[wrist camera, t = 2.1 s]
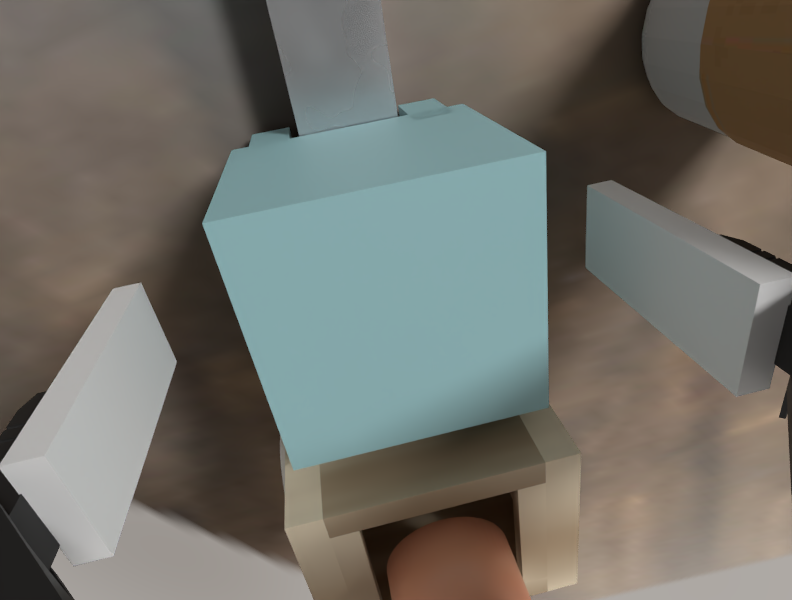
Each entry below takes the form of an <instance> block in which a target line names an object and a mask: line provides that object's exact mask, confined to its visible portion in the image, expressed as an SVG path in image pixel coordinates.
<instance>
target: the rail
mask: <svg viewBox="0 0 792 600" xmlns="http://www.w3.org/2000/svg"><path fill="white" fill-rule="evenodd" d="M266 3H267V7H268V11H269V15H270V19H271V23H272V27H273V31H274V35H275V39H276V43H277V47H278V52H279V56H280V60H281V64H282V68H283V72H284V76H285V80H286V84H287V88H288V92H289V96H290V100H291V104H292V108H293V112H294V116H295V121H296V125H297V129H298V133H299V137H300V136H305V135H310V134H315V133H320V132H325V131H330V130H335V129H340V128H345V127H350V126H355V125H360V124H365V123H370V122H375V121H380V120H385V119H390V118H395V117H398V114H397V107H396V101H395V94H394V87H393V81H392V74H391V67H390V60H389V54H388V47H387V40H386V34H385V27H384V20H383V14H382V7H381V0H266Z"/></svg>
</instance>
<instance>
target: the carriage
mask: <svg viewBox="0 0 792 600" xmlns="http://www.w3.org/2000/svg"><path fill="white" fill-rule="evenodd" d="M398 108H399V115H400V117H395V118H390V119H385V120H380V121H375V122H370V123H365V124H360V125H355V126H350V127H345V128H340V129H335V130H330V131H325V132H320V133H315V134H310V135H305V136H300V137H295V138H292V136H291V132H290V128H289V127H288V128H283V129H278V130H273V131H268V132H263V133H258V134H253V135H252V137H251V141H250V144H249V147H245V148H240V149H235V150H232V151H231V153H230V156H229V158H228V161H227V163H226V166H225V168H224V171H223V173H222V176H221V178H220V181H219V183H218V186H217V188H216V191H215V193H214V196H213V198H212V200H211V203H210V205H209V208H208V210H207V213H206V215H205V218H204V220H203V223H202V224H203V227H204V230H205V232H206V235H207V238H208V241H209V243H210V246H211V249H212V251H213V254H214V257H215V259H216V262H217V265H218V268H219V270H220V273H221V276H222V278H223V281H224V284H225V286H226V289H227V292H228V295H229V297H230V300H231V303H232V305H233V308H234V311H235V314H236V316H237V319H238V322H239V324H240V327H241V330H242V332H243V335H244V338H245V341H246V343H247V346H248V349H249V351H250V354H251V357H252V359H253V362H254V365H255V368H256V370H257V373H258V376H259V378H260V381H261V384H262V387H263V389H264V392H265V395H266V397H267V400H268V403H269V405H270V408H271V411H272V414H273V416H274V419H275V422H276V424H277V427H278V430H279V432H280V435H281V438H282V441H283V443H284V446H285V449H286V451H287V454H288V457H289V460H290V462H291V465H292V468H293V470H298V469H302V468H306V467H311V466H315V465H319V464H323V463H327V462H331V461H335V460H339V459H343V458H347V457H351V456H355V455H359V454H363V453H367V452H371V451H375V450H379V449H383V448H387V447H392V446H396V445H400V444H404V443H408V442H412V441H416V440H420V439H424V438H428V437H432V436H436V435H440V434H444V433H448V432H452V431H456V430H460V429H464V428H468V427H473V426H477V425H481V424H485V423H489V422H493V421H497V420H501V419H505V418H509V417H513V416H517V415H521V414H525V413H529V412H533V411H537V410H541V409H545V408H549V378H548V287H547V195H546V151H545V150H543V149H541V148H539V147H538V146H536V145H534V144H532V143H531V142H529V141H527V140H525V139H524V138H522V137H520V136H518V135H517V134H515V133H513V132H511V131H510V130H508V129H506V128H504V127H503V126H501V125H499V124H497V123H496V122H494V121H492V120H490V119H489V118H487V117H485V116H483V115H482V114H480V113H478V112H476V111H475V110H473V109H471V108H469V107H468V106H466V105H464V104H459V105H454V106H449V107H446V106H445V105H443V104H442V103H440V102H438V101H437V100H435V99H434V98H433V99H428V100H423V101H418V102H413V103H408V104H403V105H398Z"/></svg>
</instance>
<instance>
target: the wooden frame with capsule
mask: <svg viewBox="0 0 792 600" xmlns="http://www.w3.org/2000/svg"><path fill="white" fill-rule="evenodd" d="M280 461H281V472H282V480H283V487H284V493H285V521H284V529H285V532H286V534H287V536H288V539H289V541H290V544H291V546H292V548H293V551H294V553H295V556H296V558H297V560H298V563H299V565H300V568H301V570H302V572H303V575H304V577H305V580H306V582H307V584H308V587H309V589H310V592H311V594H312V596H313V599H314V600H392V599H391V593H390V587H389V581H388V576H387V563H388V559H389V557H390V555H391V553H392V551H393V550H394V548H395V547H396V546H397V545H398V544H399V543H400V542H401V541H402V540H403V539H404V538H405V537H406V536H408V535H409V534H410V533H412V532H414V531H415V530H417V529H419V528H421V527H423V526H425V525H427V524H430V523H432V522H435V521H439V520H442V519H447V518H453V517H475V518H481V519H484V520H487V521H490V522H492V523H494V524H495V525H497V526H498V527H499V528H500V529H501V530H502V531H503V532H504V534H505V536H506V538H507V541H508V543H509V546H510V548H511V551H512V553H513V556H514V558H515V561H516V563H517V566H518V568H519V571H520V573H521V575H522V578H523V580H524V583H525V585H526V588H527V590H528V593H529V595H530V596H532V595H536V594H540V593H543V592H547V591H551V590H554V589H558V588H562V587H565V586H569V585H573V584H576V583H577V568H578V537H579V507H580V476H581V452H580V451H579V449H578V448H577V446H576V445H575V443H574V441H573V440H572V438H571V437H570V435H569V434H568V432H567V431H566V429H565V428H564V426H563V425H562V423H561V421H560V420H559V418H558V417H557V415H556V414H555V412H554V411H553V409H552V408H551V406H550V404H549V408H545V409H541V410H537V411H533V412H529V413H525V414H521V415H517V416H513V417H509V418H505V419H501V420H497V421H493V422H489V423H485V424H481V425H477V426H473V427H468V428H464V429H460V430H456V431H452V432H448V433H444V434H440V435H436V436H432V437H428V438H424V439H420V440H416V441H412V442H408V443H404V444H400V445H396V446H392V447H387V448H383V449H379V450H375V451H371V452H367V453H363V454H359V455H355V456H351V457H347V458H343V459H339V460H335V461H331V462H327V463H323V464H319V465H315V466H311V467H306V468H302V469H298V470H293V468H292V465H291V462H290V460H289V457H288V454H287V451H286V449H285V446H284V443H283V441H282V438H281V435H280Z"/></svg>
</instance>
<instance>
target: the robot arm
mask: <svg viewBox="0 0 792 600" xmlns="http://www.w3.org/2000/svg"><path fill="white" fill-rule="evenodd" d="M585 268H586V269H588V270H589V271H590V272H591V273H592V274H593V275H595V276H596V277H597V278H598V279H599V280H600V281H602V282H603V283H604V284H605V285H606V286H607V287H609V288H610V289H611V290H612V291H613V292H614V293H616V294H617V295H618V296H619V297H620V298H622V299H623V300H624V301H625V302H626V303H627V304H629V305H630V306H631V307H632V308H633V309H634V310H636V311H637V312H638V313H639V314H640V315H641V316H643V317H644V318H645V319H646V320H647V321H648V322H650V323H651V324H652V325H653V326H654V327H655V328H657V329H658V330H659V331H660V332H661V333H662V334H664V335H665V336H666V337H667V338H668V339H669V340H671V341H672V342H673V343H674V344H675V345H676V346H678V347H679V348H680V349H681V350H682V351H683V352H685V353H686V354H687V355H688V356H689V357H691V358H692V359H693V360H694V361H695V362H696V363H698V364H699V365H700V366H701V367H702V368H703V369H705V370H706V371H707V372H708V373H709V374H710V375H712V376H713V377H714V378H715V379H716V380H717V381H719V382H720V383H721V384H722V385H723V386H724V387H726V388H727V389H728V390H729V391H730V392H731V393H733V394H734V395H735V396H736V397H738V396H742V395H745V394H749V393H753V392H757V391H761V390H765V389H769V388H770V384H771V380H772V376H773V372H774V368H775V365H777V366H778V367H779V368H781V369H782V370H784V371H785V372H786V373H788V374H789V375H790V379H789V382H788V386H787V390H786V393H785V397H784V401H783V404H782V408H781V412H780V415H779V417H780V418H786V416H787V414H788V432H789V453H790V473H791V493H792V264H790V263H788V262H786V261H784V260H782V259H780V258H777V259H776V258H775V256H774V255H772V254H770V253H768V252H766V251H761V249H760V248H758V247H756V246H754V245H752V244H750V243H748V242H746V241H744V240H740V239H736V238H732V237H728V236H724V235H718V234H716V233H714V232H712V231H710V230H708V229H706V228H704V227H702V226H700V225H698V224H696V223H694V222H692V221H690V220H689V219H687V218H685V217H683V216H681V215H679V214H677V213H675V212H673V211H671V210H669V209H667V208H665V207H663V206H661V205H659V204H657V203H655V202H653V201H652V200H650V199H648V198H646V197H644V196H642V195H640V194H638V193H636V192H634V191H632V190H630V189H628V188H626V187H624V186H622V185H620V184H618V183H616V182H614V181H613V180H609V181H605V182H600V183H596V184H591V185H587V219H586V262H585ZM176 363H177V361H176V359H175V356H174V354H173V352H172V350H171V348H170V345H169V343H168V341H167V339H166V337H165V334H164V332H163V330H162V328H161V326H160V323H159V321H158V319H157V317H156V315H155V312H154V310H153V308H152V306H151V304H150V301H149V299H148V297H147V295H146V293H145V290H144V288H143V286H142V284H141V283H137V284H132V285H128V286H123V287H119V288H114V289H113V290H112V291H111V293H110V294H109V296H108V297H107V299H106V300H105V302H104V303H103V305H102V307H101V308H100V310H99V311H98V313H97V314H96V316H95V317H94V319H93V321H92V322H91V324H90V325H89V327H88V328H87V330H86V331H85V333H84V334H83V336H82V338H81V339H80V341H79V342H78V344H77V345H76V347H75V348H74V350H73V352H72V353H71V355H70V356H69V358H68V359H67V361H66V362H65V364H64V365H63V367H62V369H61V370H60V372H59V373H58V375H57V376H56V378H55V379H54V381H53V382H52V384H51V386H50V387H49V389H48V390H47V391H46V392H42V393H37V394H36V395H35V396H34V397H33V398H32V399H31V400H29V401H28V402H27V403H26V404H25V405H24V406H22V407H21V408H20V409H19V410H18V411H17V413H16V414H15V416H14V417H13V418H12V420H11V421H10V423H9V424H8V426H7V427H6V428H7V430H5V431H4V432H3V433H2V434H1V436H0V600H74V599H73V597H72V595H71V594H70V593H69V591H68V590H67V588H66V587H65V585H64V584H63V583H62V581H61V580H60V578H59V577H58V576H57V574H56V573H55V572H54V570H53V569H52V568H51V565H52V563H53V560H54V558H55V556H56V554H57V551H58V549H59V548H60V549H61V550H62V552H63V553H64V554H65V556H66V557H67V558H68V560H69V561H70V562H71V564H72V565H73V566H77V565H81V564H85V563H89V562H93V561H97V560H101V559H104V558H108V557H112V556H114V554H115V550H116V547H117V544H118V541H119V538H120V535H121V532H122V529H123V526H124V523H125V520H126V517H127V513H128V511H129V508H130V504H131V501H132V498H133V495H134V492H135V489H136V486H137V483H138V480H139V477H140V474H141V471H142V468H143V465H144V461H145V458H146V455H147V452H148V449H149V446H150V443H151V440H152V437H153V434H154V431H155V428H156V425H157V422H158V418H159V415H160V412H161V409H162V406H163V403H164V400H165V397H166V394H167V391H168V388H169V385H170V382H171V379H172V375H173V372H174V369H175V366H176Z"/></svg>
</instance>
